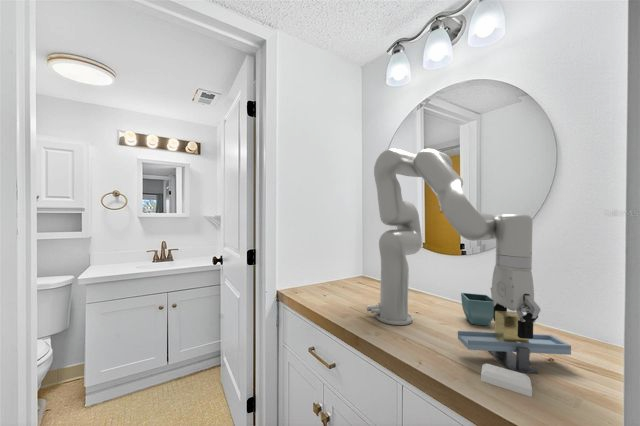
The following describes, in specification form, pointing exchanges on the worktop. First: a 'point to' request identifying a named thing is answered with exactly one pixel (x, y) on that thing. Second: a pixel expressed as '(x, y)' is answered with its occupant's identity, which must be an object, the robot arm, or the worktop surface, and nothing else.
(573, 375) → the worktop surface
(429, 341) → the worktop surface
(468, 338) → the beam
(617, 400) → the worktop surface
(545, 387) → the worktop surface
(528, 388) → the soap bar
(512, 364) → the stand
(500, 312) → the block
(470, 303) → the flower pot
